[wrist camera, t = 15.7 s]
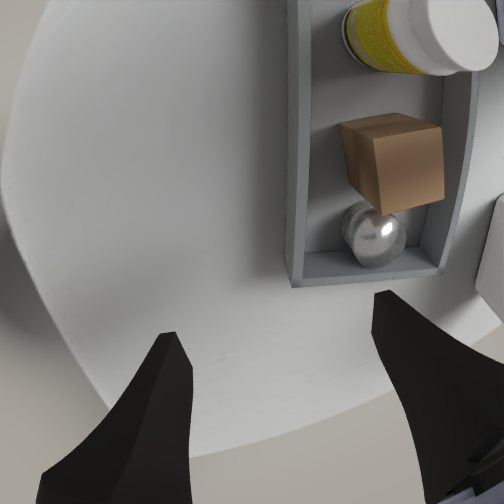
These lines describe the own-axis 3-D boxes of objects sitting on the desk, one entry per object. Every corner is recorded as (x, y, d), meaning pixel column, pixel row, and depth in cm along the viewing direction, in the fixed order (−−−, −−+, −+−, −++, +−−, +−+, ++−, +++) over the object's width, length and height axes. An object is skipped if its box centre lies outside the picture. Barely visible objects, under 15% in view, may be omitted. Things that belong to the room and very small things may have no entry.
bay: (448, 3, 13) (476, -2, 10) (423, 253, 23) (442, 274, 20) (285, -34, 12) (295, -52, 10) (284, 261, 22) (291, 287, 19)
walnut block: (402, 170, 19) (444, 198, 15) (349, 183, 19) (381, 216, 15) (395, 112, 17) (441, 127, 13) (338, 123, 17) (372, 139, 13)
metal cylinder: (391, 199, 20) (410, 216, 18) (384, 245, 22) (400, 265, 20) (343, 199, 20) (358, 217, 18) (338, 248, 22) (351, 270, 19)
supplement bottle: (378, 87, 16) (468, 105, 9) (323, 31, 14) (393, 5, 7) (422, 42, 15) (517, 44, 7) (372, -13, 13) (455, -47, 6)
